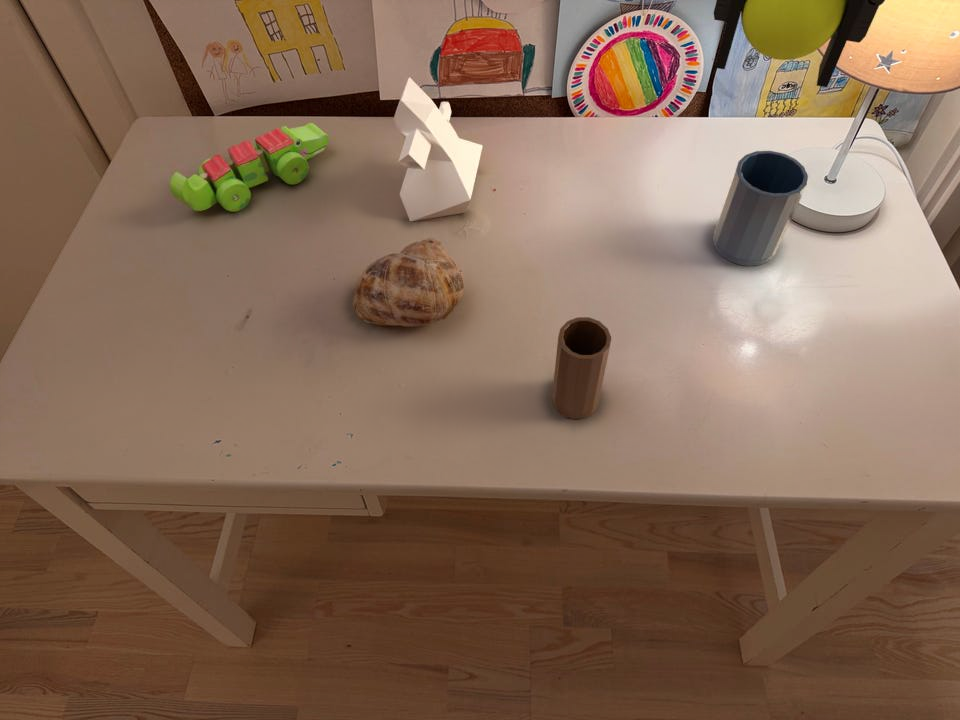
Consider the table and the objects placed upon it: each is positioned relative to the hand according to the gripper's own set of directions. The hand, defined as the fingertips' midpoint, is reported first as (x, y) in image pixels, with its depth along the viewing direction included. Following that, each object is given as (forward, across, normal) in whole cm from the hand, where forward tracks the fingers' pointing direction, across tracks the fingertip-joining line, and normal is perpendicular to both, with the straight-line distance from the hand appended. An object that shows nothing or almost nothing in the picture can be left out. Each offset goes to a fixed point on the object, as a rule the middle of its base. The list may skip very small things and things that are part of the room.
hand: (772, 67), depth 54 cm
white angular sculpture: (+26, +32, -5) cm, 41 cm away
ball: (-5, 0, 0) cm, 5 cm away
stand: (+25, +8, +19) cm, 33 cm away
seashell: (+26, +28, +13) cm, 40 cm away
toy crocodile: (+26, +54, +1) cm, 60 cm away
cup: (+26, -4, -8) cm, 27 cm away
